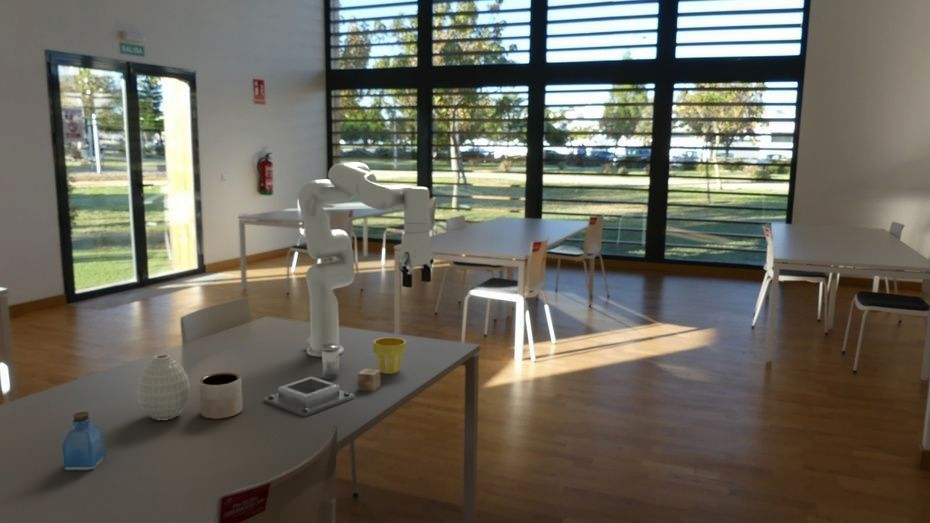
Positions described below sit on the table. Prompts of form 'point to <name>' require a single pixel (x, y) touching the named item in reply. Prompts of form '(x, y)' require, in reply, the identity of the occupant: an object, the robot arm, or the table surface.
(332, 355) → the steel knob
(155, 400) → the vase
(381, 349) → the plant pot
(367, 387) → the wooden cube
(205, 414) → the planter
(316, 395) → the square metal socket
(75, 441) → the perfume bottle
